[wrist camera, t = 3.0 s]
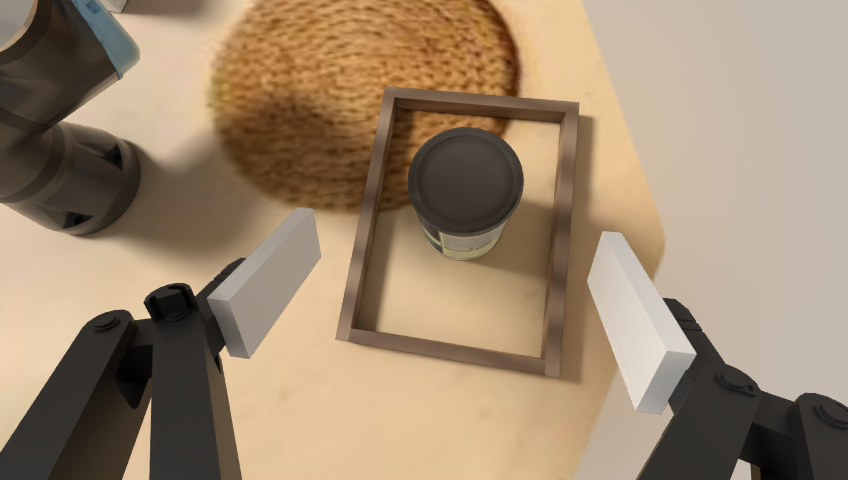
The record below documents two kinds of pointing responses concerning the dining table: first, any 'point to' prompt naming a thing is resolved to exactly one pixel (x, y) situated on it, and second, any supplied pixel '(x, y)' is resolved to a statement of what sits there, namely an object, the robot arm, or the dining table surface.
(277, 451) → the dining table surface
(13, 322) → the dining table surface
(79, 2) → the robot arm
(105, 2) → the supplement box
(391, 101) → the walnut frame
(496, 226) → the coffee can
